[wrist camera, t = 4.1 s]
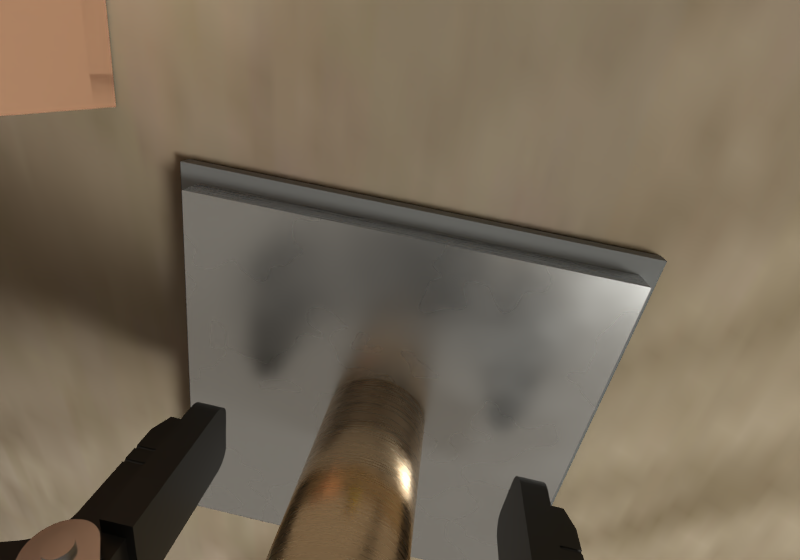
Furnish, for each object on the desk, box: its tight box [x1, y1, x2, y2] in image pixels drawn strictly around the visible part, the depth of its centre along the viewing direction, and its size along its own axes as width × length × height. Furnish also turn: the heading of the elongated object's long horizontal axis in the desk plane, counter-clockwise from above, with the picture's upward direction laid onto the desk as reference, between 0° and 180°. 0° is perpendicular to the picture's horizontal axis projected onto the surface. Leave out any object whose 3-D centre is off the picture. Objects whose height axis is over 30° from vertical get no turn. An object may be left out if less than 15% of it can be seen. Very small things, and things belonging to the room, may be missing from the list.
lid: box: [182, 183, 651, 560], centre depth 11 cm, size 12×12×7 cm
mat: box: [180, 159, 667, 506], centre depth 15 cm, size 13×13×1 cm
